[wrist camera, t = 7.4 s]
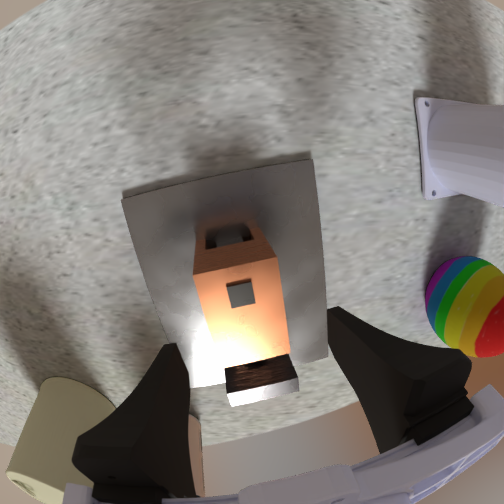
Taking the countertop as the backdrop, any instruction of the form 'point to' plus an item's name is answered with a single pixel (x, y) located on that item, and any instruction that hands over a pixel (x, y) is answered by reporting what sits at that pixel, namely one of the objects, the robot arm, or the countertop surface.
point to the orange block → (242, 299)
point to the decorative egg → (468, 306)
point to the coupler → (226, 233)
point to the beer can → (196, 455)
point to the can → (55, 438)
